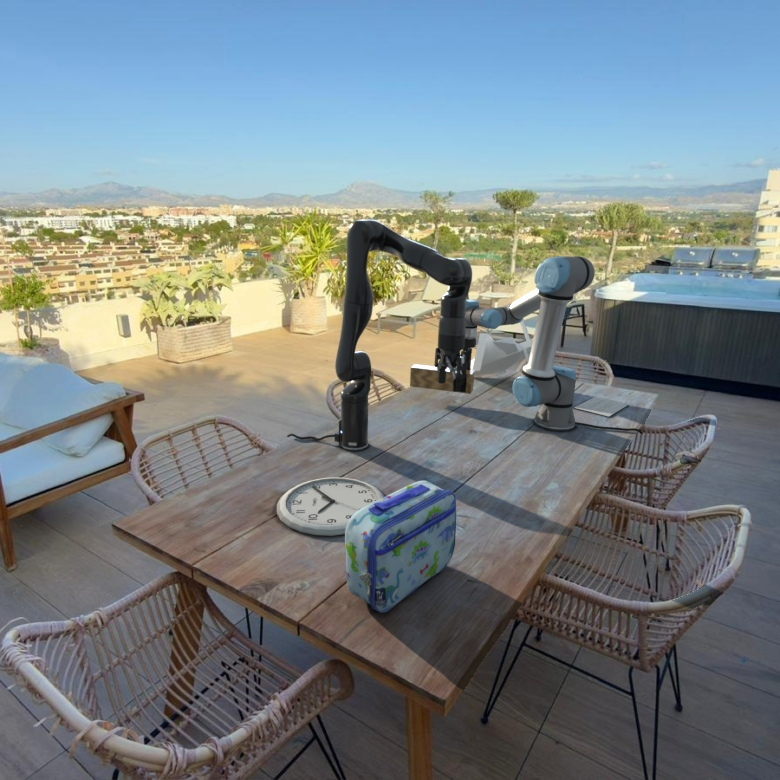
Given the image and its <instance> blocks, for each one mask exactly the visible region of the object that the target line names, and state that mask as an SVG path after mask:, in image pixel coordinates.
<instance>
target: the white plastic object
mask: <svg viewBox="0 0 780 780" xmlns="http://www.w3.org/2000/svg"><path fill="white" fill-rule="evenodd" d="M519 324H520V326H521V329H522V332H523V336H524V338H525V341H522V342H519V343H518V342H516V340H515V339H514V337H513V336H510V337H505V338H501V339H497V340H494V339H493V338H492V337H491V335H490V334H489V333H487V332H486V333H485V332H483V333H482V332H480V333H479V336H478V341H477V345H476V351H475V355H474V358H473V359H472V358H471V371H474V377H481V376H490V375H496V376H500V375H502V374H505V373H506V372H507V370H508V369H509V368H511V367H512V366H513V365H515V364H517V363H518V362H520V361H521V360H522V359H523V358H524V357H525V360H526V365H527V364H528V362H529V357H530V352H531V347H532V343H533V338H534V337H532V338H531V337H530V334H529V332H528V328H527V325H526V322H525V320H524V318H523V319H522V321H521V322H520V323H519Z"/></svg>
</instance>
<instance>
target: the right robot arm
mask: <svg viewBox="0 0 780 780" xmlns="http://www.w3.org/2000/svg"><path fill="white" fill-rule="evenodd" d="M595 274H596V271H595V267H594V264H593V263H592V261H591V260H590V259H588V258H586V257H584V256H580V255H579V256H578V255H575V256H553V257H548V258H546V259H544V260H543V261H541V262H540V263H539V264H538V266H537V268H536V270H535V272H534V284H535V289H534V290H532V291H529V292H528V293H527V294H524V295H523V296H521V297H520V298H518V299H516V300H514V301H513V302H511V303H509V304H508V305H506V306H497V307H481V306H480V301H479V300H476V299H466V313H465V322H466V328H465V344H464V349H462V350H461V351H460V356H461V357H466V358H467V368H466V373H467V370H471V360H472V353H473V348H476V347H477V336H478V327H481V328H484V329H488V330H489V329H490V330H496V329H498V328H499V327H501V326H509V325H512V326H513V325H517V324H521V323H520V322H521V321H522V319H524V318H526V317H528V316H529V315H532V314H534V313H536V312H538V315H537V320H536V324H535V329H534V334H533V337H532V338H533V343H532V347H531V352H530V354H529V355H530V357H529V362H528V364H527V363H526V364H525V365H523V367H522V370H521V376H518V377H517V378H515V379H514V380H513V383H512V393H513V396H514V398H515V400H516V401H517V403H518V404H520V405H521V406H523V407H526V408H532V407H538V406H539V407H538V410H537V411H536V413H535V417H534V424H535V425H536V426H537V427H539V428H542V429H544V430H549V431H556V432H567V431H572V430H574V429H575V428H576V425H577V426H581V427H587V428H594V429H600V430H610V431H611V430H613V431H624V432H638V433H639V434H641V435H643V434H644V432H643V431H642V430H641V429H639V428H636V427H633V428H631V427H630V428H626V427H614V426H602V425H601V426H600V425H595V424H590V423H584V422H578V421H576V418H575V417H576V416H575V413H574V407H573V405H574V398H575V390H576V383H577V372H576V371H575V369H572V368H571V367H570V368H569V367H566V366H561V365H554V361H555V357H556V354H557V353H556V352H557V348H558V345H559V340H560V336H561V331H562V327H563V324H564V323H563V322H564V319H565V312H566V310H567V305H568V304H569V303H570V302H572V301H573V299H574V296H575V294H578V293H579V292H582V291H583V290H585V289H587V288H589V286H590V285H591V284H592V283H593V281H594V280H595ZM461 372H462V374H463V370H461ZM466 379H467V377H466V378H462V379H461V386H460V387H461V388H460V391H459V392H466ZM459 392H458V393H459Z"/></svg>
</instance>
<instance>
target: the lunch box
mask: <svg viewBox="0 0 780 780" xmlns="http://www.w3.org/2000/svg"><path fill="white" fill-rule="evenodd" d="M456 531H457V499H456V495H455V493H454V492H453V490H450V489H442V488H440V487H439V486H437V485H435V484H433V483H432V482H430V481H428V480H418V481H416V482H413V483H410V484H409V485H406V486H405V487H402V488H400V489H398V490H396V491H394V492H392V493H390V494H388V495H385V497H384V498H382V499H380V500H378V501H376V502H374V503H372V504H370V505H368V506H366V507H364V508H362V509H360V510H358V511H357V512H355V513H354V514H353V515H352V517H351V518H350V520H349V522H348V524H347V527H346V531H345V534H344V552H345V577H346V578H345V580H346V586H347V589H348V592H349V593H350V594H352V595H354V596H356V597H357V598H359V599H361V600H363V602H365V603H367V604H368V605H370V607H371V608H372V609H373V610H375V611H376V612H378V613H380V614H382V613H383V614H385V613H387V612H389V611H391V609H393V608H394V607H395V606H396V605H397V604H400V602H401V601H402V600H404V599H406V597H409V596H410V595H411V594H412V593H414V592H415V591H416V590H417V589H418V588H420V587H421V586H422V585H423V584H424V583H425V582H427V581H428V580H430V579H432V578H433V577H434V576H436V575H437V574H439V573H441V572H442V571H443V570H445V568H446V567H447V566H448V564H449V563H450V561H451V560H452V557H453V554H454V551H455V548H456V547H455V546H456Z"/></svg>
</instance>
